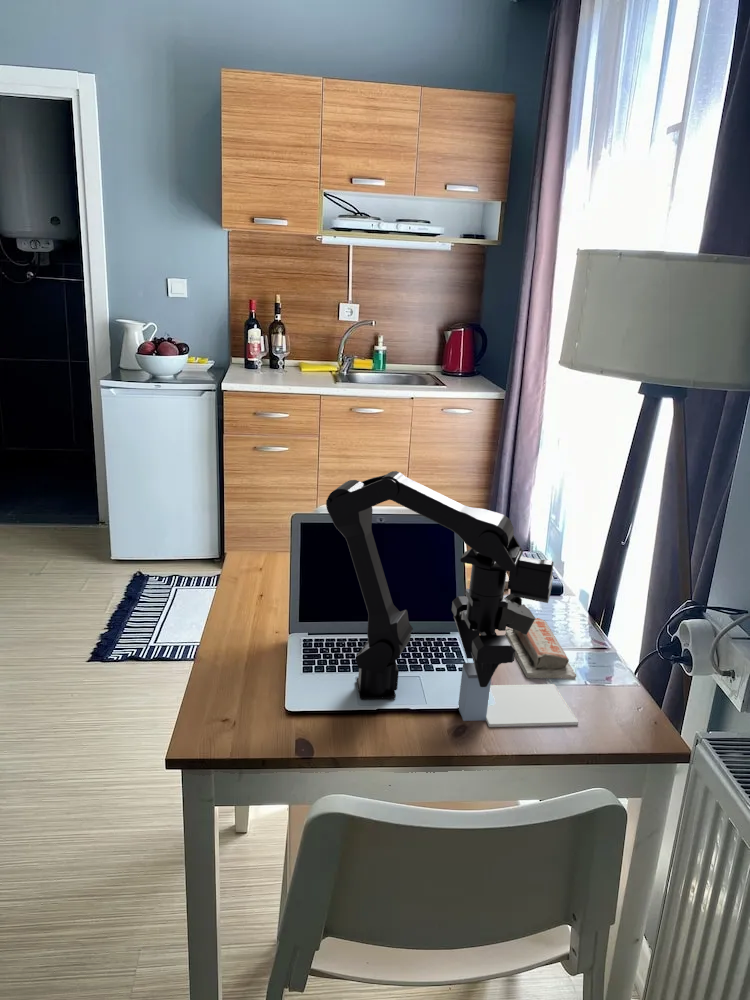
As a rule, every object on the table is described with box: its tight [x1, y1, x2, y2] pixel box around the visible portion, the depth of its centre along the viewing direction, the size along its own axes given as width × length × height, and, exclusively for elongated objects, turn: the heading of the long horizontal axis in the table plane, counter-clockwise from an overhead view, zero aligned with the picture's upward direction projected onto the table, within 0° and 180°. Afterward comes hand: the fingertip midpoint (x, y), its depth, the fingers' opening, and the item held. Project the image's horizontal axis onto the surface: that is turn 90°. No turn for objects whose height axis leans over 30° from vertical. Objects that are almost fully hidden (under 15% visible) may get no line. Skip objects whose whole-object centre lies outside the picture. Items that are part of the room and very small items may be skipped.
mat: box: [485, 683, 579, 728], centre depth 137 cm, size 16×12×1 cm
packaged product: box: [505, 617, 577, 680], centre depth 155 cm, size 18×5×10 cm
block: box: [457, 662, 492, 722], centre depth 133 cm, size 4×4×9 cm
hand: (476, 671), depth 131 cm, fingers open, 9 cm apart
